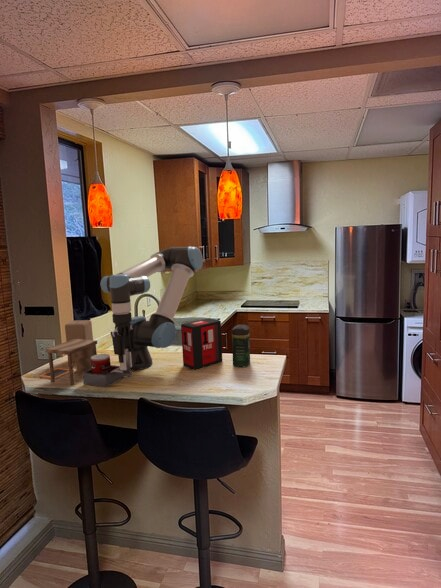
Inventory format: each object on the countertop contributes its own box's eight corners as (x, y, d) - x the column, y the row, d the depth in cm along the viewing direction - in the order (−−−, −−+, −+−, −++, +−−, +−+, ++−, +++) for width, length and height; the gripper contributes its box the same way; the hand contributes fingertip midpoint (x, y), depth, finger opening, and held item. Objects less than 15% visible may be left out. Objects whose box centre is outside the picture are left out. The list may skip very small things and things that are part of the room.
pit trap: (74, 371, 185) (73, 369, 185) (55, 379, 175) (55, 378, 175) (57, 369, 189) (57, 367, 188) (38, 377, 179) (38, 375, 179)
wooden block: (95, 357, 205) (92, 319, 202) (87, 363, 195) (83, 324, 192) (76, 357, 206) (73, 320, 203) (67, 364, 196) (63, 324, 193)
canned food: (96, 378, 175) (94, 354, 173) (114, 377, 174) (112, 353, 173) (90, 384, 167) (87, 359, 165) (108, 384, 167) (106, 359, 165)
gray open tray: (83, 384, 167) (79, 349, 165) (102, 374, 178) (99, 342, 176) (122, 389, 159) (119, 353, 157) (139, 379, 170) (137, 345, 168)
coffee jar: (248, 368, 179) (247, 328, 176) (231, 367, 181) (229, 328, 178) (251, 361, 188) (250, 323, 185) (235, 361, 190) (233, 323, 187)
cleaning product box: (210, 357, 197) (208, 318, 194) (222, 361, 190) (220, 320, 187) (183, 366, 186) (180, 324, 183) (195, 370, 179) (192, 327, 176)
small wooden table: (49, 382, 172) (45, 348, 169) (77, 369, 187) (74, 338, 185) (72, 386, 166) (69, 351, 164) (99, 372, 182) (97, 340, 180)
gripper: (126, 308, 170) (130, 361, 173) (101, 316, 155) (106, 373, 159) (140, 309, 167) (144, 363, 170) (116, 317, 152) (121, 375, 156)
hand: (126, 368), depth 165 cm, fingers closed on gray open tray, 3 cm apart
